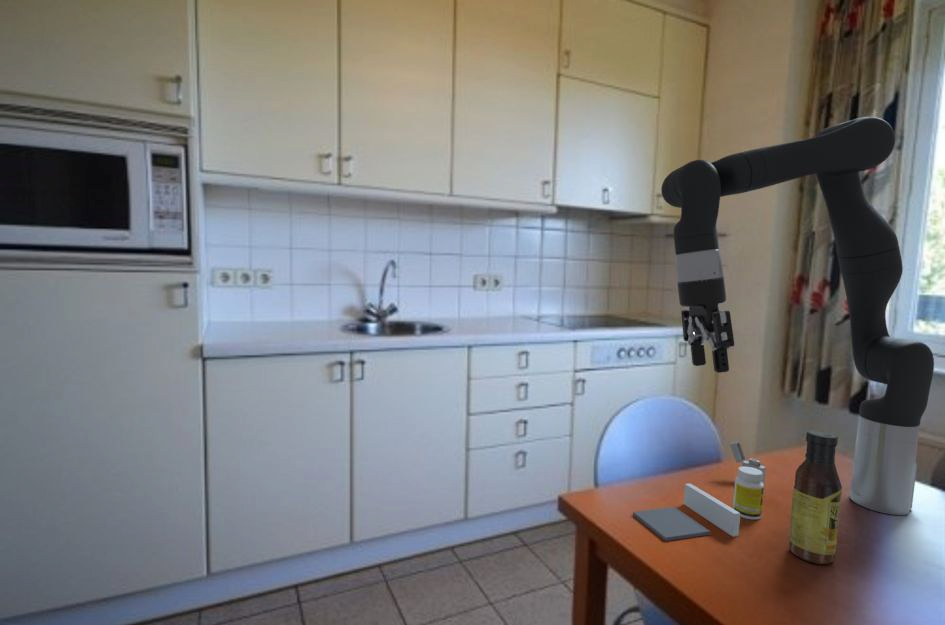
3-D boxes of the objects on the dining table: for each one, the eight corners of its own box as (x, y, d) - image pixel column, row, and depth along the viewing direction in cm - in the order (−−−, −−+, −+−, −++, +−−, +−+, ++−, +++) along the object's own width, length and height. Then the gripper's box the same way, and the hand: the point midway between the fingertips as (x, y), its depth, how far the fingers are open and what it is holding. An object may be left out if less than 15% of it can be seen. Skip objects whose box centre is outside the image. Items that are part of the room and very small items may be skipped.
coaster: (674, 509, 94) (674, 506, 94) (709, 534, 86) (710, 531, 85) (632, 514, 91) (633, 511, 91) (665, 541, 83) (665, 537, 83)
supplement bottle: (765, 522, 91) (769, 477, 90) (736, 518, 92) (740, 474, 91) (755, 509, 95) (759, 466, 95) (729, 506, 96) (732, 464, 96)
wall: (688, 503, 97) (690, 483, 96) (738, 535, 85) (740, 513, 85) (683, 504, 96) (685, 484, 96) (732, 536, 85) (734, 514, 85)
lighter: (764, 486, 106) (767, 449, 105) (760, 488, 105) (763, 451, 104) (730, 474, 112) (733, 439, 111) (726, 476, 111) (729, 441, 110)
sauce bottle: (836, 571, 76) (850, 444, 74) (787, 558, 79) (799, 435, 77) (832, 552, 82) (845, 432, 80) (787, 539, 85) (798, 425, 83)
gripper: (742, 273, 82) (753, 371, 82) (702, 276, 96) (712, 360, 96) (696, 279, 82) (707, 377, 82) (663, 281, 96) (673, 365, 96)
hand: (710, 368), depth 89 cm, fingers open, 8 cm apart
